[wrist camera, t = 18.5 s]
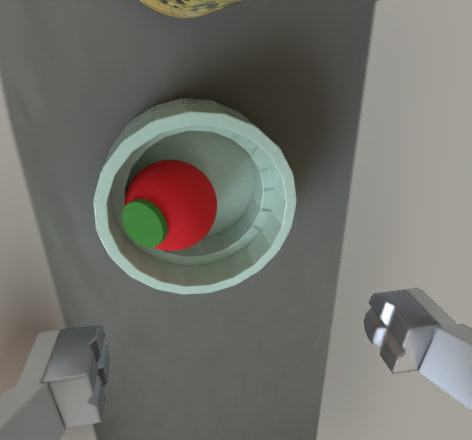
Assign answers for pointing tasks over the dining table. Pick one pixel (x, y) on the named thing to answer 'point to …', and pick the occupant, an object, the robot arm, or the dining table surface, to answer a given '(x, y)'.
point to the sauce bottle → (188, 7)
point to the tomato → (169, 206)
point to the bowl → (224, 183)
